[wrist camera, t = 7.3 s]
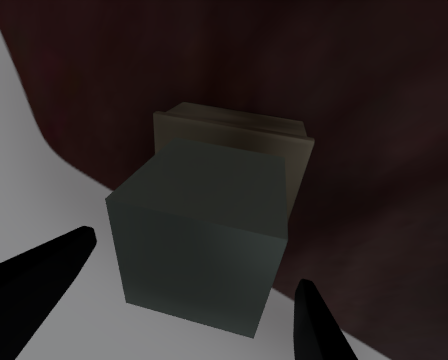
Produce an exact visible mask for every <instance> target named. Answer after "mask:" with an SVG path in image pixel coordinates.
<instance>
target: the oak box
mask: <svg viewBox="0 0 448 360" xmlns="http://www.w3.org/2000/svg"><path fill="white" fill-rule="evenodd" d="M153 121H154V140H155V154H157V153H158V152H159V151H160V150H161V149H162V148H163V147H164V146H166V145H167V144H168V143H169V142H170V141H171V140H172V139H174V138H175V137H176V138H182V139H187V140H193V141H198V142H204V143H209V144H214V145H220V146H225V147H231V148H236V149H242V150H247V151H252V152H258V153H263V154H269V155H274V156H280V157H285V175H286V201H287V223H288V220H289V217H290V214H291V211H292V208H293V205H294V202H295V199H296V196H297V193H298V190H299V187H300V184H301V181H302V178H303V175H304V172H305V169H306V166H307V163H308V160H309V157H310V154H311V151H312V148H313V145H314V142H315V141H314V138H311V137H307V134H306V131H305V128H304V124H303V122H302V121H296V120H290V119H284V118H278V117H272V116H266V115H260V114H254V113H248V112H242V111H236V110H230V109H224V108H218V107H212V106H206V105H200V104H194V103H188V102H182V103H181V104H179V105H177V106H175V107H174V108H172V109H170V110H169V111H167V112H161V111H156V112H154V113H153Z"/></svg>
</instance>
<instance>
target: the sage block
mask: <svg viewBox="0 0 448 360" xmlns="http://www.w3.org/2000/svg"><path fill="white" fill-rule="evenodd" d="M105 200H106V205H107V210H108V215H109V220H110V225H111V230H112V235H113V240H114V245H115V250H116V255H117V260H118V265H119V270H120V275H121V280H122V284H123V290H124V294H125V300H126V303H130V304H134V305H137V306H140V307H144V308H147V309H151V310H154V311H158V312H162V313H165V314H168V315H172V316H176V317H179V318H183V319H186V320H190V321H193V322H197V323H200V324H204V325H207V326H211V327H214V328H218V329H222V330H225V331H229V332H232V333H235V334H239V335H243V336H246V337H250V338H254V335H255V333H256V330H257V327H258V324H259V321H260V318H261V315H262V313H263V310H264V307H265V304H266V301H267V299H268V296H269V292H270V290H271V287H272V284H273V282H274V279H275V276H276V273H277V270H278V267H279V264H280V262H281V259H282V256H283V253H284V250H285V247H286V245H287V242H288V227H287V201H286V175H285V157H280V156H274V155H269V154H263V153H258V152H252V151H247V150H242V149H236V148H231V147H225V146H220V145H214V144H209V143H204V142H198V141H193V140H187V139H182V138H176V137H175V138H174V139H172V140H171V141H170V142H169V143H168V144H167V145H166V146H164V147H163V148H162V149H161V150H160V151H159V152H158V153H157V154H155V155H154V156H153V157H152V158H151V159H150V160H149V161H147V162H146V163H145V164H144V165H143V166H142V167H141V168H140V169H138V170H137V171H136V172H135V173H134V174H133V175H132V176H130V177H129V178H128V179H127V180H126V181H125V182H124V183H123V184H121V185H120V186H119V187H118V188H117V189H116V190H115V191H113V192H112V193H111V194H110V195H109V196H108V197H107V198H106V199H105Z"/></svg>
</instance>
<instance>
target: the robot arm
mask: <svg viewBox="0 0 448 360" xmlns="http://www.w3.org/2000/svg"><path fill="white" fill-rule="evenodd" d="M96 243H97V240H96V236H95V232H94V229H93V228H92V227H87V226H82V227H79V228H77V229H75V230H73V231H70V232H68V233H66V234H64V235H62V236H59V237H57V238H55V239H53V240H51V241H48V242H46V243H44V244H42V245H39V246H37V247H35V248H33V249H30V250H28V251H26V252H24V253H22V254H19V255H17V256H15V257H13V258H10V259H8V260H6V261H4V262H2V263H0V360H15V359H16V357H17V356H18V355H19V353H20V352H21V351H22V349H23V348H24V347H25V345H26V344H27V343H28V341H29V340H30V339H31V337H32V336H33V335H34V333H35V332H36V331H37V329H38V328H39V327H40V325H41V324H42V323H43V321H44V320H45V319H46V317H47V316H48V315H49V313H50V312H51V311H52V309H53V308H54V307H55V305H56V304H57V303H58V301H59V300H60V299H61V297H62V296H63V294H64V293H65V292H66V290H67V289H68V288H69V287H70V285H71V284H72V282H73V281H74V279H75V278H76V277H77V275H78V274H79V272H80V271H81V269H82V267H83V266H84V264H85V262H86V261H87V259H88V257H89V256H90V254H91V252H92V251H93V249H94V248H95V246H96ZM293 337H294V354H295V360H358V359H357V357H356V355H355V354H354V352H353V350H352V349H351V347H350V345H349V343H348V342H347V340H346V338H345V336H344V335H343V333H342V331H341V329H340V328H339V326H338V324H337V323H336V321H335V319H334V317H333V316H332V314H331V312H330V311H329V309H328V307H327V305H326V304H325V302H324V300H323V299H322V297H321V295H320V293H319V292H318V290H317V288H316V286H315V285H314V283H313V282H312V281H310V280H306V279H301V280H300V282H299V285H298V287H297V289H296V292H295V303H294V332H293Z"/></svg>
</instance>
